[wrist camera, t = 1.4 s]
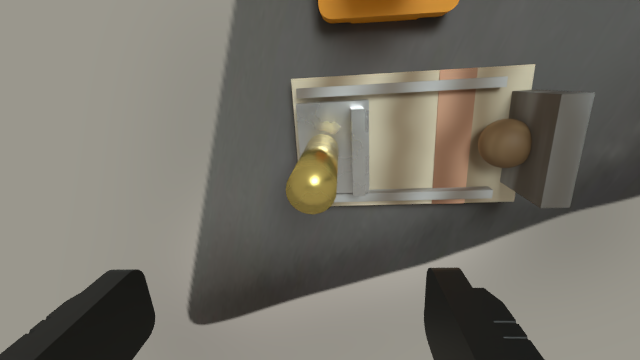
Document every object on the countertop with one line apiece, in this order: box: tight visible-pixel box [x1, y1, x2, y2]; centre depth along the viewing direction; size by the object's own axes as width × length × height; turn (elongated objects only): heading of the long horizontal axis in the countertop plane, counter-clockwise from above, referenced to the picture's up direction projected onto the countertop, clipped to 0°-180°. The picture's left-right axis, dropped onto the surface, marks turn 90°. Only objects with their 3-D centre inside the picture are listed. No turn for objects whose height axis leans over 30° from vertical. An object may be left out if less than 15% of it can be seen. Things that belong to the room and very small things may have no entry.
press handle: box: [286, 99, 369, 214], centre depth 22 cm, size 6×8×12 cm
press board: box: [291, 64, 595, 208], centre depth 25 cm, size 20×12×8 cm, turn 93°
